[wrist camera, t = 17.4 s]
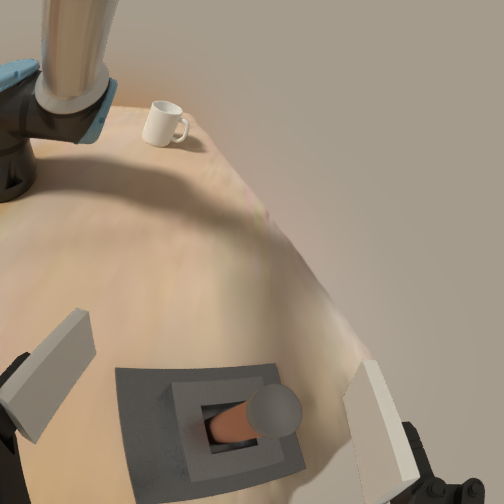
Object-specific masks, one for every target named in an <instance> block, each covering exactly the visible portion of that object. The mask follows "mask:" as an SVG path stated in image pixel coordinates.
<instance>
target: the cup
mask: <svg viewBox="0 0 504 504" xmlns="http://www.w3.org/2000/svg"><path fill="white" fill-rule="evenodd" d="M182 112H183V111H182V109H181V108H180V107H179V106H177V105H175V104H173V103H170V102H166V101H155V102H153V104H152V106H151V109H150V112H149V115H148V118H147V120H146V123H145V126H144V129H143V133H142V138H143V140H144V141H145V142H146V143H147V144H149V145H152V146H155V147H165V146H167V145H168V144H169V143H170V141H172V142H175V143H179V142H182V141H184V140H185V138H186V137H187V135H188V132H189V123H188V121H187V120H185V119H183V118H180V117H181V115H182ZM178 122H180V123H183V124H185V132H184V134H183V136H182V137H181V138H179V139H178V138H175V137H173V134H174V132H175V129H176V127H177V124H178Z"/></svg>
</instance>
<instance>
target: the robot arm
mask: <svg viewBox="0 0 504 504" xmlns="http://www.w3.org/2000/svg"><path fill="white" fill-rule="evenodd" d="M118 1H119V0H43V2H42V23H41V46H42V68H43V71H40V70H38V69H39V68H40V65H39V61H38V60H34V59H23V60H17V61H13V62H9V63H6V64H3V65H0V202H4V201H8V200H11V199H13V198H16V197H18V196H19V195H21V194H22V193H24V192H25V191H26V190H27V189H28V188H29V187H30V186H31V185H32V184H33V182H34V180H35V178H36V159H35V156H34V153H33V150H32V147H31V143H30V138H38V139H47V140H56V141H64V142H71V143H74V144H93V143H94V142H96V141H97V139H98V138H99V136H100V133H101V131H102V128H103V125H104V122H105V119H106V117H107V114H108V112H109V109H110V106H111V103H112V101H113V98H114V95H115V92H116V89H117V81H116V80H113V79H112V78H110V77H109V72H108V68H107V66H106V65H105V63H104V62H103V57H104V52H105V48H106V43H107V39H108V35H109V31H110V28H111V24H112V20H113V17H114V14H115V10H116V7H117V4H118ZM95 355H96V350H95V345H94V340H93V335H92V329H91V323H90V317H89V312H88V311H85V310H82V309H79V308H76V309H75V310H74V311H73V312H72V313H71V314H70V315H69V316H68V317H67V318H66V319H65V320H64V321H63V322H62V323H61V324H60V325H59V326H58V327H57V328H56V329H55V330H54V331H53V332H52V333H51V334H50V335H49V336H48V337H47V338H46V339H45V340H44V341H43V342H42V343H41V344H40V345H39V346H38V347H37V348H36V349H35V350H34V351H33V352H32V353H31V354H30V353H28V352H26V353H24V354H22V355H20V356H18V357H17V358H16V359H15V360H14V361H13V362H12V364H11V365H10V366H9V367H8V368H7V369H6V371H4V372H3V373H2V374H1V376H0V504H31V501H30V498H29V494H28V491H27V487H26V483H25V479H24V475H23V471H22V466H21V461H20V456H19V450H18V444H17V437H16V434H15V433H14V432H15V431H16V429H18V431H19V432H20V433H21V435H22V436H23V437H24V438H26V439H28V440H29V441H31V442H32V443H34V444H36V442H37V441H38V439H39V437H40V436H41V434H42V433H43V431H44V430H45V428H46V426H47V425H48V423H49V422H50V420H51V419H52V417H53V416H54V414H55V413H56V411H57V409H58V408H59V406H60V405H61V403H62V402H63V401H64V399H65V398H66V396H67V395H68V393H69V392H70V390H71V389H72V387H73V386H74V384H75V383H76V382H77V380H78V379H79V377H80V376H81V375H82V373H83V372H84V370H85V369H86V368H87V366H88V365H89V363H90V362H91V361H92V359H93V358H94V357H95ZM343 402H344V406H345V410H346V415H347V419H348V423H349V428H350V432H351V437H352V441H353V446H354V451H355V456H356V460H357V465H358V470H359V475H360V481H361V486H362V491H363V497H364V502H365V504H386V503H388V502H389V501H390V504H484V498H485V489H484V485H483V483H482V482H481V481H480V480H479V479H477V478H470V479H468V480H467V481H466V482H464V483H463V484H462V485H461V484H460V485H459V484H446V483H445V482H444V481H443V480H442V479H440V478H437V477H435V476H434V474H433V472H432V469H431V466H430V464H429V461H428V458H427V455H426V453H425V450H424V448H423V445H422V442H421V441H420V437H419V435H418V432H417V430H416V428H415V427H414V426H413V425H412V424H411V423H410V422H401V420H400V418H399V415H398V413H397V410H396V408H395V405H394V402H393V400H392V397H391V395H390V392H389V390H388V388H387V385H386V383H385V380H384V378H383V376H382V373H381V371H380V369H379V366H378V364H377V362H376V361H375V360H362V361H361V363H360V365H359V367H358V369H357V371H356V374H355V376H354V377H353V379H352V381H351V383H350V385H349V387H348V389H347V391H346V393H345V395H344V397H343Z"/></svg>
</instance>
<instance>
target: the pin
mask: <svg viewBox="0 0 504 504" xmlns="http://www.w3.org/2000/svg"><path fill="white" fill-rule="evenodd" d="M301 419H302V408H301V404H300V401H299V399H298V398H297V396H296V395H295V394H294V393H293V392H292V391H291V390H290V389H289V388H287V387H285V386H283V385H280V384H269V385H266V386H264V387H262V388H260V389H258V390H257V391H255V392H254V393H253V394H252V395H251V396H250V397H249V399H248V401H246V402H244V403H242V404H240V405H237V406H235V407H233V408H231V409H229V410H226V411H224V412H222V413H220V414H217V415H215V416H213V417H210V418H208V419H206V420H205V421H204V424H205V429H206V433H207V438H208V442H209V443H210V444H212V445H223V444H228V443H234V442H239V441H244V440H249V439H253V438H258V437H262V436H263V437H265V438H270V439H275V438H280V437H284V436H287V435H290V434H292V433H293V432H294V431H295V430H296V429H297V428H298V426H299V425H300V422H301Z"/></svg>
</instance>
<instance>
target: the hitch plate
mask: <svg viewBox="0 0 504 504" xmlns="http://www.w3.org/2000/svg"><path fill="white" fill-rule="evenodd" d="M115 379H116V391H117V401H118V410H119V418H120V426H121V433H122V439H123V445H124V451H125V456H126V462H127V467H128V471H129V476H130V480H131V485H132V489H133V493H134V497H135V501H136V504H159V503H169V502H177V501H185V500H192V499H198V498H204V497H209V496H214V495H219V494H224V493H228V492H233V491H237V490H241V489H245V488H248V487H252V486H256V485H259V484H262V483H266V482H269V481H272V480H275V479H278V478H281V477H284V476H287V475H290V474H293V473H295V472H298V471H301V470H303V469H306V467H305V464H304V460H303V457H302V454H301V450H300V447H299V443H298V440H297V437H296V433H295V431H294V432H293V433H292V434H290V435H287V436H284V437H280V438H275V439H270V438H265V437H263V436H262V437H258V438H253V439H249V440H244V441H239V442H234V443H228V444H223V445H212V444H210V443H209V442H208V438H207V433H206V429H205V424H204V421H205V420H206V419H208V418H210V417H213V416H215V415H217V414H220V413H222V412H224V411H226V410H229V409H231V408H233V407H235V406H237V405H240V404H242V403H244V402H246V401H248V399H249V397H250V396H251V395H252V394H253V393H254V392H255V391H257V390H258V389H260V388H262V387H264V386H266V385H269V384H280V385H281V381H280V378H279V375H278V371H277V368H276V364H275V363H274V364H264V365H253V366H240V367H225V368H204V369H134V368H115Z"/></svg>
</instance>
